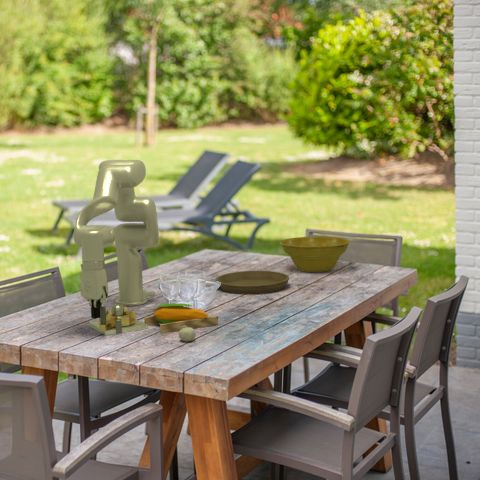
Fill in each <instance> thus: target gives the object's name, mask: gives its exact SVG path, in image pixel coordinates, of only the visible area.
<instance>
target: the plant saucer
mask: <svg viewBox="0 0 480 480" xmlns="http://www.w3.org/2000/svg"><path fill="white" fill-rule="evenodd" d="M214 281H215V282H216V281H219V282H221V286H219V287H220V288H221V290H222V291H224V292H228V293H233V294H241V295H243V294H244V295H245V294H247V295H251V294H252V295H253V294H254V295H255V294H267V293H273V292H277V291H281V290H282V289H283V288H285V286H286V284H288V282H289V281H290V276H289V275H288V274H286V273H284V272H278V271H273V270H272V271H271V270H244V271H243V270H242V271H233V272H229V273H225V274H224V273H223V274H220V275H219V276H217V277H215V280H214Z"/></svg>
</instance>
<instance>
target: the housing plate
mask: <svg viewBox="0 0 480 480" xmlns="http://www.w3.org/2000/svg"><path fill="white" fill-rule="evenodd" d="M110 306H111V307H110V311H112V313H115V317H119V316H123V305H122V304H116V303H114V304H111V305H110ZM115 321H116V327H112V328H110V329H108V330H106V331H101V330H99V320H93V321H88V323H87V324H88V327H89V328H92V329H93V330H95V332H98V333H100V334H102V335H103V336H109V335H115V334H116V335H118V334H123V333H130V332H136V331H143V330H147V329H149V326H148V324H146V323H145V322H144V321H141V320H139V319H137V318H136V322H135V323H134V324H132V325H128V326H122V320H121V319H117V320H115Z"/></svg>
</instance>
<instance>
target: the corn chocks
mask: <svg viewBox="0 0 480 480" xmlns="http://www.w3.org/2000/svg"><path fill="white" fill-rule="evenodd" d="M198 310H202V309H200V308H198ZM143 318H144V320H143V322H144V323H146V324H148V327H150V326H155V325H159V333H160V334H161V335H163V334H169V333H175V332H179V331H180V330H181V329H183V328H186V327H183V328H182V326H184V325H185V326H187V327H190V328H192V329H194V330H195V329H199V328H205V327H212V326H213V327H214V326H218V325H219V316H218V315H212V316H207V318H203V319H192V320H185V321H179V322H172V323H166V324H165V323H162V322H160V321H158V320H157V319H156V318H155V317H154V315H151V316H144V317H143Z"/></svg>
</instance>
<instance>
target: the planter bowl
mask: <svg viewBox="0 0 480 480" xmlns="http://www.w3.org/2000/svg"><path fill="white" fill-rule="evenodd" d="M350 243H351V240H350V239H347V238H343V237H336V236H335V237H334V236H301V237H291V238H290V237H289V238H286V239H285V238H284V239H282V240H280V241H279V243H278V244H280V245H281V246H282V248H283V251H284V252H285V254H287V255H288V256H290V258H291V260H292V262H293V264H294V266H295V267H296V269H298V270H299V271H300V272H307V273H323V272H324V273H325V272H329V271H331V270H332V269H333V268H335V266H337V263H338V261H339V260H340V257H341V256H342V254H344V253H345V252H346V250H347V248H348V247H349V244H350Z"/></svg>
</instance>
